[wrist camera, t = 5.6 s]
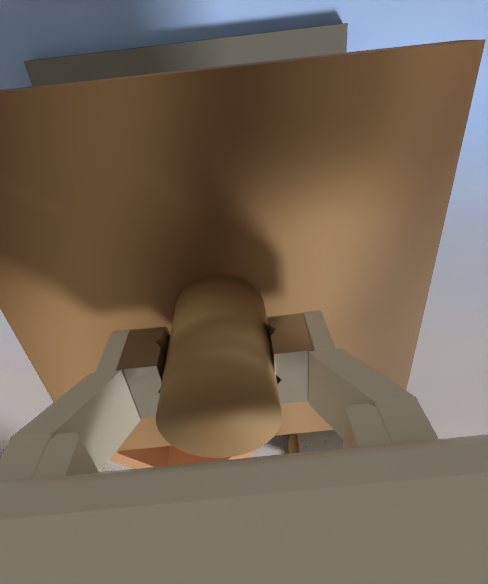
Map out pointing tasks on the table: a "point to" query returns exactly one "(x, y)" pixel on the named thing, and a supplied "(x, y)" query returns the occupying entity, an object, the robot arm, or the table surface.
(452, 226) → the table surface
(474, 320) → the table surface
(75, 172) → the lid
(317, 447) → the ceramic mug
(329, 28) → the mat
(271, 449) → the table surface
